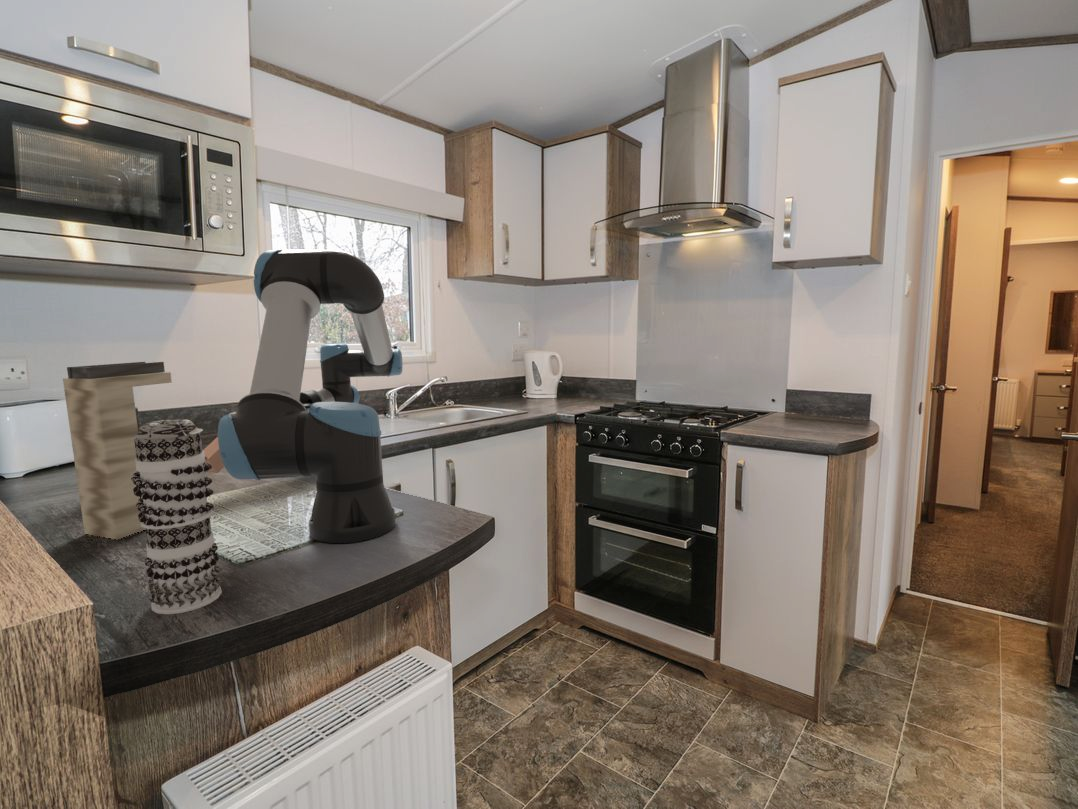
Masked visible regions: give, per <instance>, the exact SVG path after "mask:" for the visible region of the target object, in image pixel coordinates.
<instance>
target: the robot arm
mask: <svg viewBox="0 0 1078 809" xmlns="http://www.w3.org/2000/svg"><path fill="white" fill-rule="evenodd" d="M253 275H254V279H253V288H254V293H255V295H256V297H257V300H258V301H259V302H260V303H261V304H262V306H263V308H264V309H265V310H266V311H265V315H264V321H263V325H262V329H261V336H260V342H259V346H258V351H257V355H256V361H255V366H254V370H253V376H252V381H251V386H250V391H249V393H248V394H246V395H245V396H243V397H242V398H240V400H239V401H238V404H237V407H236V411H234V412H230V413H228V414H225V415H223V416H222V417H221V418H220V420H219V422H218V426H217V437H218V445H219V451H220V455H221V458H222V462H223V464H224V468H225V470H226V472H227V474H229V475H230V476H231V477H232V478H234V479H235V480H236V479H237V480H255V481H261V480H268V479H271V480H272V479H282V478H283V479H286V478H297V477H298V478H302V477H315V486H316V493H315V498H314V502H313V505H312V509H311V516H310V518H309V520H308V528H309V529H308V530H309V537H310V538H311V537H312V538H311V539H313V540H314V541H317V542H320V543H326V544H328V543H329V544H350V543H355V542H356V543H357V542H362V541H367V540H371V539H374V538H378V537H380V536H383V535H385V534H387V533H389V532H391V531H392V530H393V529H394V528H395V526H396V513H395V510H394V508H393V506H392V503H391V501H390V498H389V495H388V493H387V490H386V488H385V484H384V475H383V474H384V473H383V472H384V471H383V459H382V457H383V456H382V442H381V436H382V430H381V426H380V420H379V419H380V418H379V414H378V412H377V411H376V409H375V408H374V407H372V406H369V405H365V404H362V403H359V402H360V393H359V391H358V389H357V388H356V387H355V386H354V385H352V384H351V378H363V377H365V378H367V377H369V378H370V377H392V376H400V375H401V374H402V373H403V355H402V354H403V353H402V351H401V349H398V348H396V349H395V348H393V347H392V342H391V339H390V338H391V337H390V335H389V330H388V326H387V324H388V323H387V320H386V316H385V313H384V312H385V311H384V308H383V304H384V300H385V293H384V288H383V285H382V283H381V280H380V279H379V277H378V276H377V273H375V271H373V269H372V268H371V267H370V266H369V265H368V264H366V263H365V262H364V261H363V260H362V259H360V258H358V257H357V256H356V255H354V254H352V253H349V252H347V251H344V250H341V249H330V248H329V249H285V248H280V249H275V250H274V249H273V250H272V249H271V250H266V251H265V250H264V252H262V253H261V254H260V255H259V256H258V258H257V259H256V261H255V265H254V269H253ZM331 304H333V305H335V304H342V305H343V306H344V308H345V309H346V310H347V311H348V312H349V313H350V314H351V318H352V321H353V324H354V326H355V330H356V333H357V336H358V339H359V342H360V345H361V348H362V349H349V345H348V344H347V343H329V344H328V343H327V344H323V345H321V346H320V348H319V350H320V352H319V354H320V355H319V356H320V357H319V359H320V360H319V363H320V370H321V382H322V384H321V386H322V388H318V389H312V390H308V391H302V383H303V379H304V378H303V376H304V370H305V363H306V356H307V348H308V341H309V335H310V334H309V333H310V329H311V328H310V327H311V321H312V319H313V318H315V317H316V316H317V315H318V313H319V312H320V310H321V305H331Z"/></svg>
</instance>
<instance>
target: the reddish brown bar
mask: <svg viewBox="0 0 1078 809" xmlns="http://www.w3.org/2000/svg"><path fill="white" fill-rule="evenodd" d="M202 450H203V451H204V454H205V457H207V458H208V459H207V460H206V459H205V463H207V464H210V465H211V466H212V468H211V469H210V470H208V471H206V472H205V473H215V474H219V472H220V471H221V470H222V469H224V468H225V466H224V464H223V462H222V458H221V455H220V451H219V445H218V436H216V438H214V440H212V442H210V443H209V444H208V445H207V446H206V447H205V448H204V449H202ZM203 464H204V463H203Z"/></svg>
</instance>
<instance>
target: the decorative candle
mask: <svg viewBox="0 0 1078 809" xmlns="http://www.w3.org/2000/svg"><path fill="white" fill-rule="evenodd" d="M203 431H204V429H203V428H198V427H197V426H196V425H195V423H194V422H193V421H192V420H189V419H186V418H185V419H184V418H176V419H162V420H155V421H150V422H147V423H144V424H141V425H140V428H139V430H138V432H137V434H136V435H134V436H132V437H131V439H134V441H135V450H136V457H137V458H136V459H135V462H136V470H137V472H135V473H134V474H133V477H132V478H131V480H132V481H133V483H134V484H135V485H136V487H134V488H133V491H134V495H135V496H139V497H140V499H139V500H138V502H137V504H136V506H137V507H138V510H139V511H141V512H140V513H139V514H138V517H139V521H140V522H141V527H143V528H146V530H145V535H146V542H147V543H146V545H145V546H146V555H147V556H146V557H145V558H144V565H145V566H147V567H148V568H147V569H146V570H145V572H146V577H147V578H149V579H148V581H147V583H146V584H147V585H146V586H147V589H148V591H149V593H148V598H149V602H151V604H150V606H151V611H152V612H154V613H156V614H158V615H174V614H175V615H176V614H183V613H188V612H191V611H194V610H199V609H200V608H203V607H205V606H208V605H210V604H212V603H213V602H215V601H216V600H218V599H219V598H220V596H221V595H222V594H223V591H222V588H221V585H220V584H221V583H222V579H221V576H220V573H221V569H220V565H218V561H219V559H220V558H219V556H218V553H216V552H217V551H218V549H219V547H218V545H217V543H216V542H215V538H214V533H213V530H212V526H211V524H212V523H211V520H210V518H211V516H213V514H214V510H213V508H214V507H215V506H214V504H213V503H211V502H209V501H208V497H210V496H211V495H213V494H214V490H212V489H210V488H208V486H209V485H211V484H212V482H213V479H212V478H210V477H208V476H207V475H206V476H205V473H207V472H206V471H208V470H210V469H211V468H212V466H211V465H210V464H207V463H205V459H206V460H207V459H208V458H207V457H205V454H204V451H203V450H204V449H203V446H202V445H203V444H202V438H201V437H202V436H201V435H202V433H201V432H203ZM203 463H204V464H203ZM140 479H141V480H140ZM140 489H142V491H141V490H140ZM144 514H145V515H144Z"/></svg>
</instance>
